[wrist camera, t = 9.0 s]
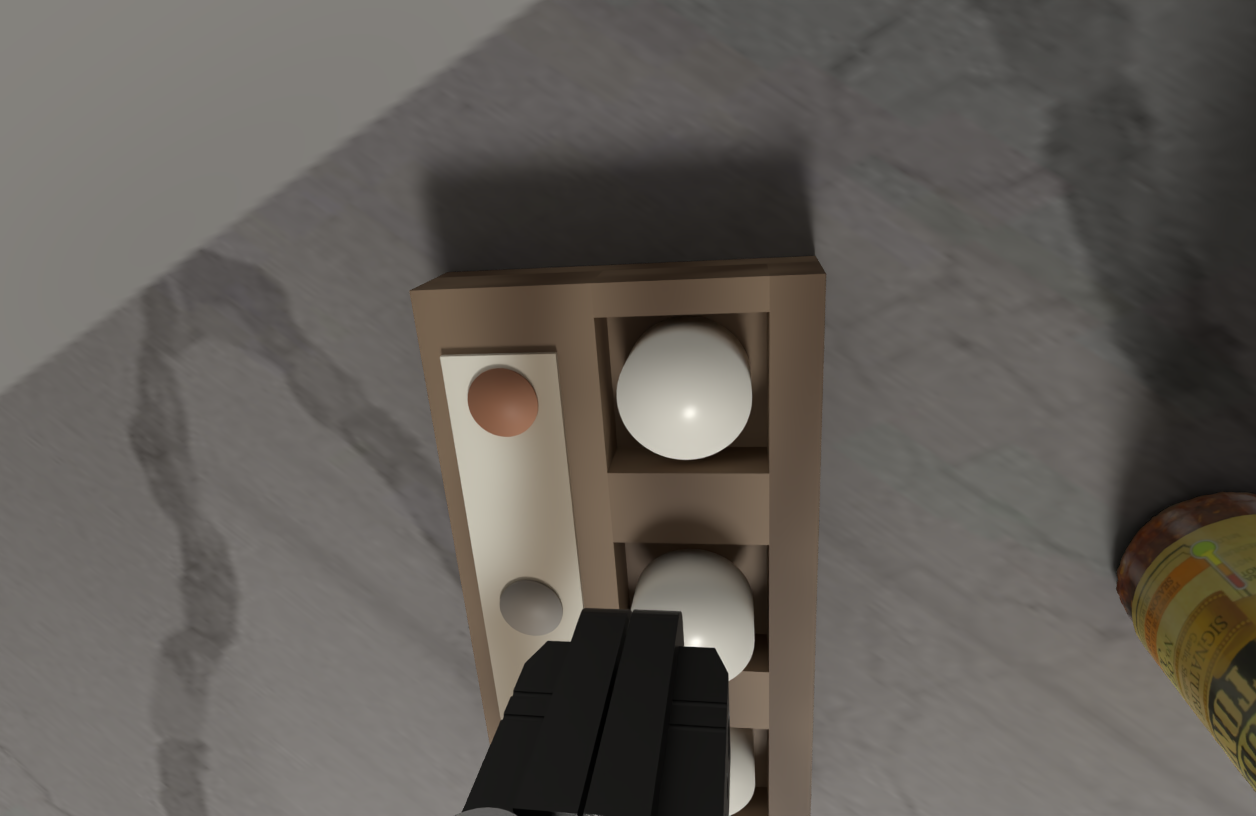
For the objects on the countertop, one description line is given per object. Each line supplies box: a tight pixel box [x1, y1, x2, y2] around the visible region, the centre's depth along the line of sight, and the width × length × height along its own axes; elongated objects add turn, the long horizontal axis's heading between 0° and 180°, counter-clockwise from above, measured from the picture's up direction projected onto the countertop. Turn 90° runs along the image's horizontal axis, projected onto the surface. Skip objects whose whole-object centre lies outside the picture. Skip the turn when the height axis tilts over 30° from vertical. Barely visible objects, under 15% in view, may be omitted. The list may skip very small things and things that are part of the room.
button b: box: [631, 549, 755, 681], centre depth 23 cm, size 4×4×2 cm
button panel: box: [410, 256, 826, 816], centre depth 25 cm, size 12×22×3 cm, turn 4°
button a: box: [729, 727, 755, 816], centre depth 27 cm, size 4×4×2 cm
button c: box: [617, 316, 752, 460], centre depth 22 cm, size 4×4×2 cm
